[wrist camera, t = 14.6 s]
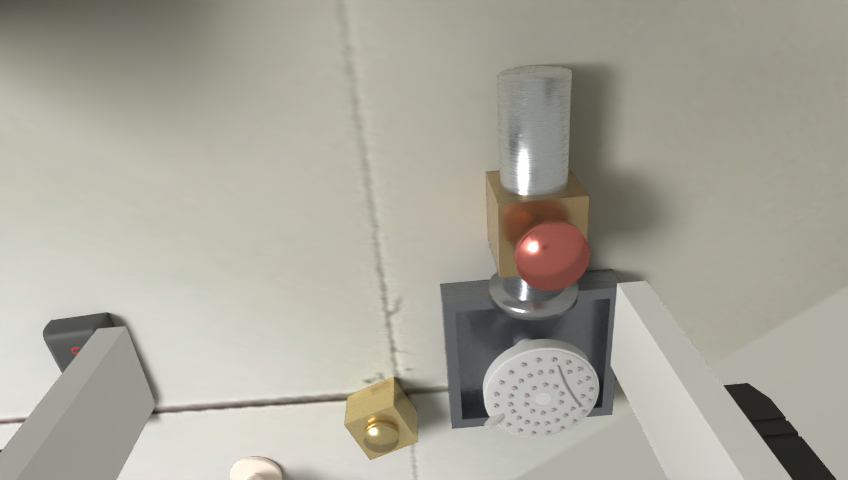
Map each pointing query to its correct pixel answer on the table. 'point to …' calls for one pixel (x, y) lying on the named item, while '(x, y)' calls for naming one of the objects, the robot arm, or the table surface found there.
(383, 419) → the brass block
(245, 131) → the table surface
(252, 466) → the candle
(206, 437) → the table surface
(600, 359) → the metal assembly
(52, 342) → the usb drive
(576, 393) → the showerhead
